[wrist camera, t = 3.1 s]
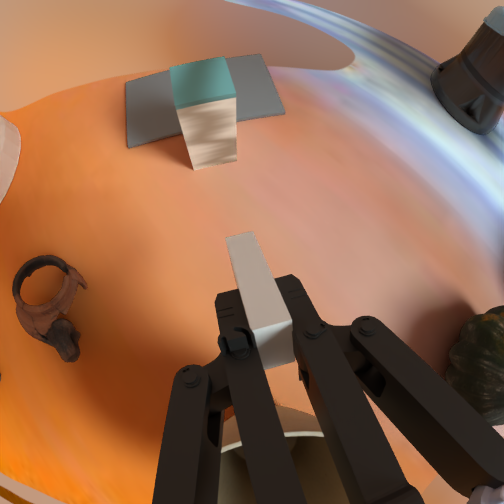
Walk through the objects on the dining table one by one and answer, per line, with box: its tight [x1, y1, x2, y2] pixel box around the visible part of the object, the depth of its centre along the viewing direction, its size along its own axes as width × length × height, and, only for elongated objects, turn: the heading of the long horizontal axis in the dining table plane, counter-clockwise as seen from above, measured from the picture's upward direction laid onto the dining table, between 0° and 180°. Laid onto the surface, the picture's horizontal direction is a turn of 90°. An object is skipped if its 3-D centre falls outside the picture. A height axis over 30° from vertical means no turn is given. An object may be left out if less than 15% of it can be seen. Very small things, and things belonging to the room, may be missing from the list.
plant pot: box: [218, 405, 350, 504], centre depth 20 cm, size 15×15×16 cm
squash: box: [445, 306, 504, 426], centre depth 24 cm, size 14×15×15 cm
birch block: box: [170, 56, 237, 170], centre depth 28 cm, size 5×5×12 cm
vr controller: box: [12, 255, 88, 362], centre depth 27 cm, size 12×10×8 cm
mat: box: [126, 54, 285, 148], centre depth 35 cm, size 20×12×1 cm, turn 104°
